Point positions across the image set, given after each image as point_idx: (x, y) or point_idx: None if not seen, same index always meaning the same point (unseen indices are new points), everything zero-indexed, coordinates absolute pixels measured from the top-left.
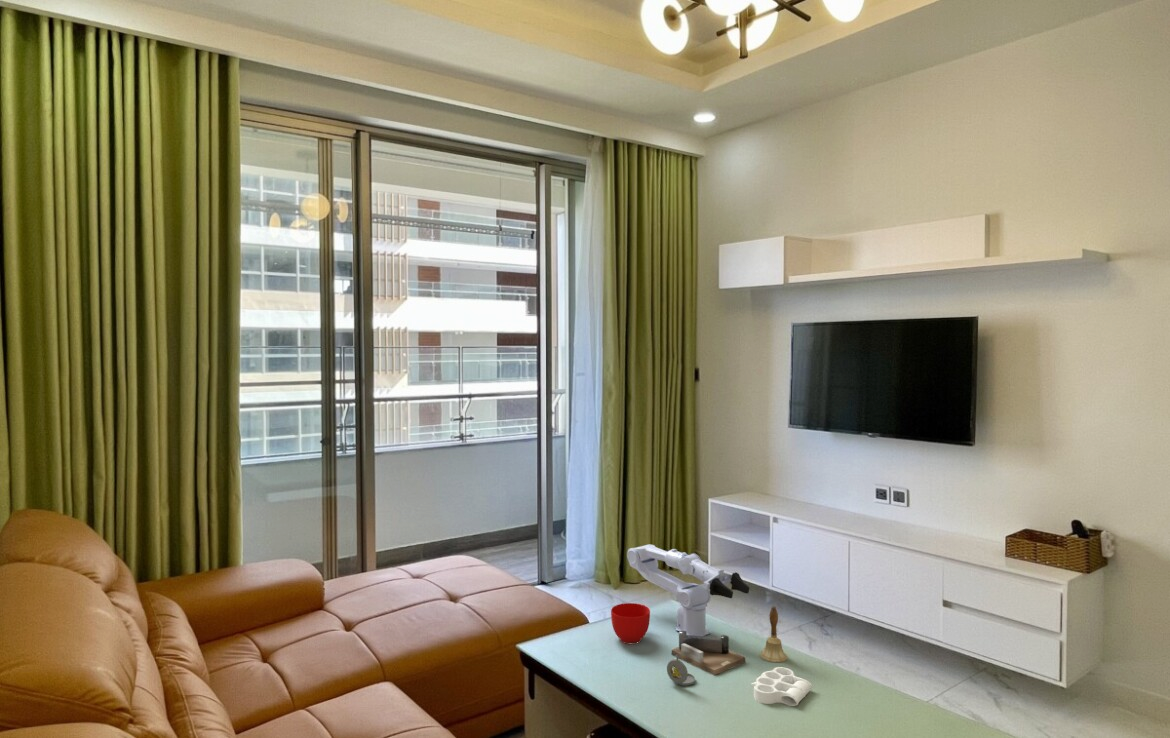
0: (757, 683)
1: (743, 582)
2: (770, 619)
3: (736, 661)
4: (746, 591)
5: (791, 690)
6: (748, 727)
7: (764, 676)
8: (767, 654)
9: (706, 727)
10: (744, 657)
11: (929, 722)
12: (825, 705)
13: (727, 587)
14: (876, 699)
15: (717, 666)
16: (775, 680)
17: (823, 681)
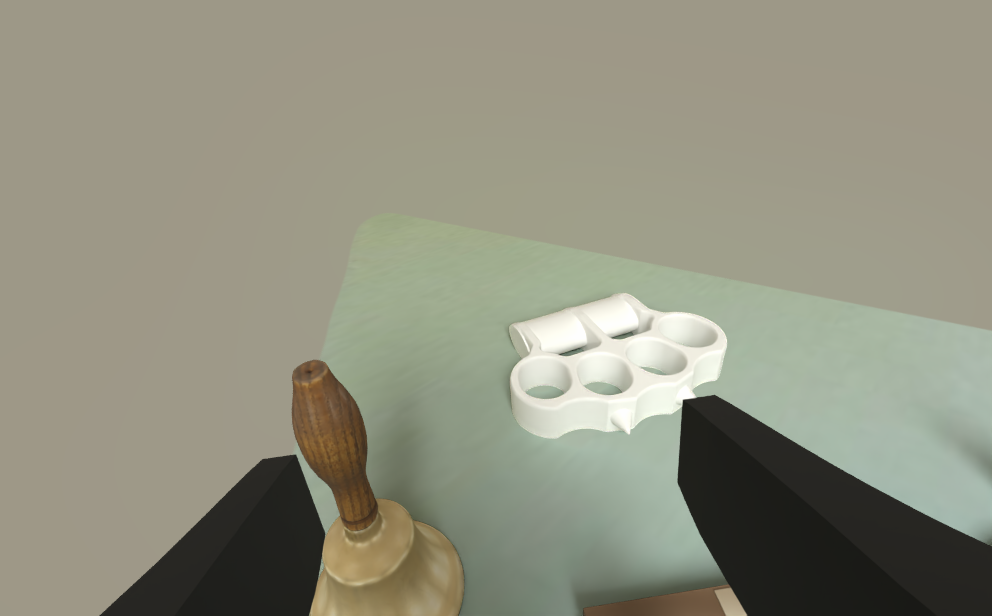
0: (700, 357)
1: (172, 569)
2: (364, 442)
3: (665, 595)
4: (312, 528)
5: (606, 310)
6: (805, 296)
7: (644, 377)
8: (441, 568)
9: (949, 325)
10: (590, 607)
11: (414, 227)
12: (538, 296)
13: (771, 471)
14: (407, 280)
15: None
16: (621, 349)
17: (427, 362)
